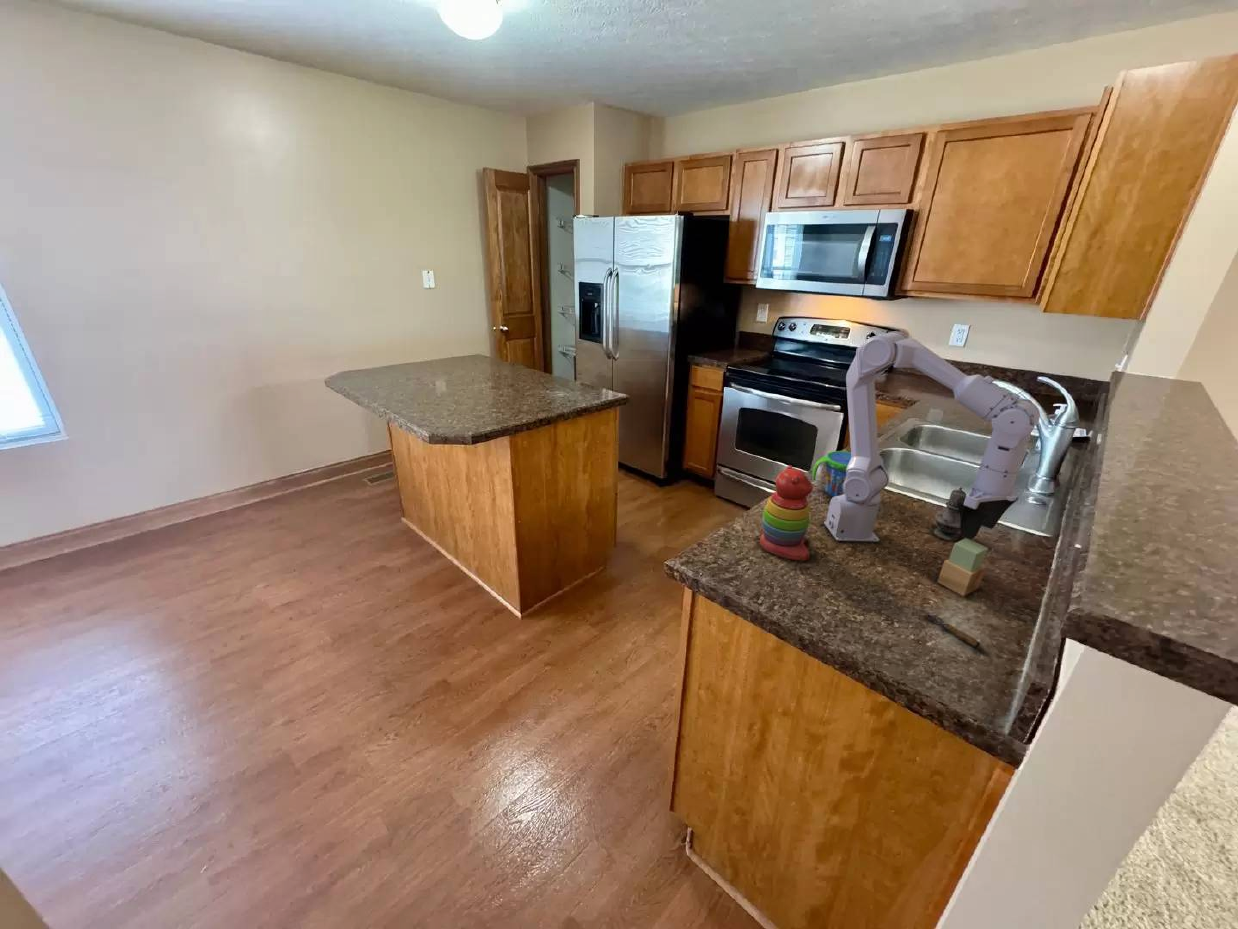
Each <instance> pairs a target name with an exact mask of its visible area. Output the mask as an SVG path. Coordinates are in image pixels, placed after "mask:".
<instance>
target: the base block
mask: <svg viewBox="0 0 1238 929" xmlns="http://www.w3.org/2000/svg"><path fill="white" fill-rule="evenodd" d="M985 570H986V566H985V565H984V564H982V566H981V567H979V568H977V569H975V570H973V571H971V572H969V571H967V570H965V569H963V568H961V567H959V566H957V565H955V564H953V563H951V562H949V558H947V559H945V560H943V564H942V567H941V569H940V573H939V575H938V578H937V583H938V584H940V585H942V586H944V587H945V588H947V589H949V590H951V591H953V592H954V593H956V594H958V595H960V596H962V597H965V596H967V595H969V594H971V593H973V592H974V591H976V590H978V589H979V587H980V584H981V581H982V579H983V576H984V573H985Z"/></svg>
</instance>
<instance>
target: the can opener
mask: <svg viewBox="0 0 1238 929" xmlns="http://www.w3.org/2000/svg"><path fill="white" fill-rule="evenodd" d="M926 617H927V619H928V620H932V621H933V623H935V624H937V625H939V626H943V628H944V629H945V630H946V631H948V632H950V633H951V634H953V635H955V636H957V637H958V638H959V639H961V640H962V641H964V642H965V643H966V644H969V645H970V646H972V647H974V648H976V649H978V648H979V647H980V645H981V642H980V641H978V640H977V639H975V638H974V637H972V636H971V635H969V634H967V633H965V632H963V631H962V630H960V629H958V628H957V627H955V626H953V625H951V624H949V623H945V620H943V619H942V618H941V617H939V616H937V615H935V614H933V613H930V612H927V616H926Z"/></svg>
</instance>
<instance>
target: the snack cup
mask: <svg viewBox="0 0 1238 929" xmlns="http://www.w3.org/2000/svg"><path fill="white" fill-rule="evenodd" d="M850 459H851V451H846V450H845V451H844V450H843V451H842V450H833V451H830V452H828V453H827V454H826V455H825V456H823V457H821V458H819V459H817V461H816V462H815V463H814V465H813V468H812V471H811V472H812V480H813V481H816V480H817V479H816V475H817V473H818V472H817V471H818V469H819V466H820V465H821V464H823V463H825V464H826V466H825V468H826V470H825V489H824V491H825V493H827V494H828V495H829V496H831V497H832V498H833V497H835V496H840V495H843V494H845V493H844V491H843V483H844V481H845V479H846V469H847V466H848V464H849V462H850Z"/></svg>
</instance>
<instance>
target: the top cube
mask: <svg viewBox="0 0 1238 929" xmlns="http://www.w3.org/2000/svg"><path fill="white" fill-rule="evenodd" d="M988 551H989V547H987V546H984V545H982V544H981V543H978V542H976V541H973V540H970V539H968V538H966V537H964V538H963V539H961V540H959V541H957V542H955V543H954V544H953V547H952V550H951V553H950V555H949V558H948V559H949V562H951V563H953V564H955V565H957V566H959V567H961V568H963V569H965V570H967V571H969V572H971V571H973V570H975V569H977V568H979V567H981V566H982V565H984V564H983V563H984V562H985V558H986V555H987V553H988Z"/></svg>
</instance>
